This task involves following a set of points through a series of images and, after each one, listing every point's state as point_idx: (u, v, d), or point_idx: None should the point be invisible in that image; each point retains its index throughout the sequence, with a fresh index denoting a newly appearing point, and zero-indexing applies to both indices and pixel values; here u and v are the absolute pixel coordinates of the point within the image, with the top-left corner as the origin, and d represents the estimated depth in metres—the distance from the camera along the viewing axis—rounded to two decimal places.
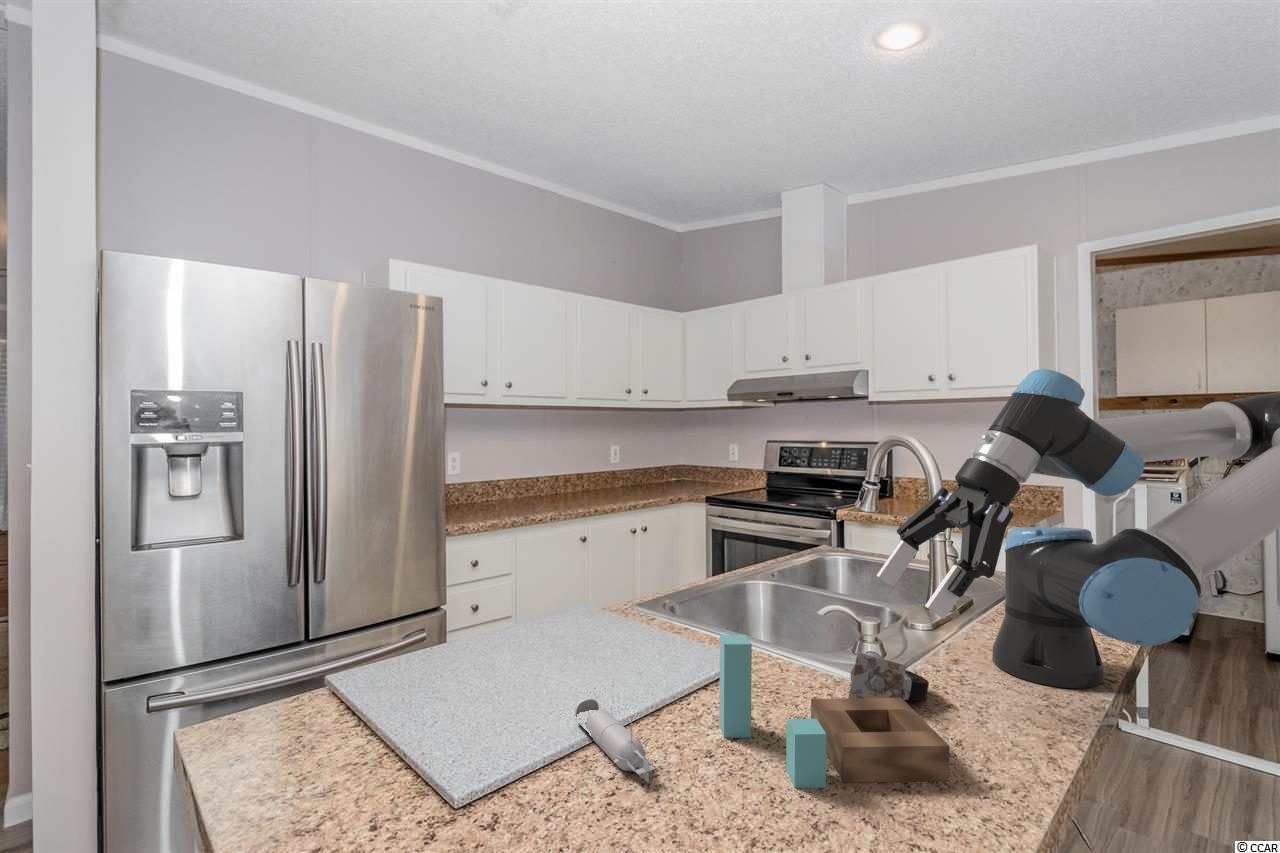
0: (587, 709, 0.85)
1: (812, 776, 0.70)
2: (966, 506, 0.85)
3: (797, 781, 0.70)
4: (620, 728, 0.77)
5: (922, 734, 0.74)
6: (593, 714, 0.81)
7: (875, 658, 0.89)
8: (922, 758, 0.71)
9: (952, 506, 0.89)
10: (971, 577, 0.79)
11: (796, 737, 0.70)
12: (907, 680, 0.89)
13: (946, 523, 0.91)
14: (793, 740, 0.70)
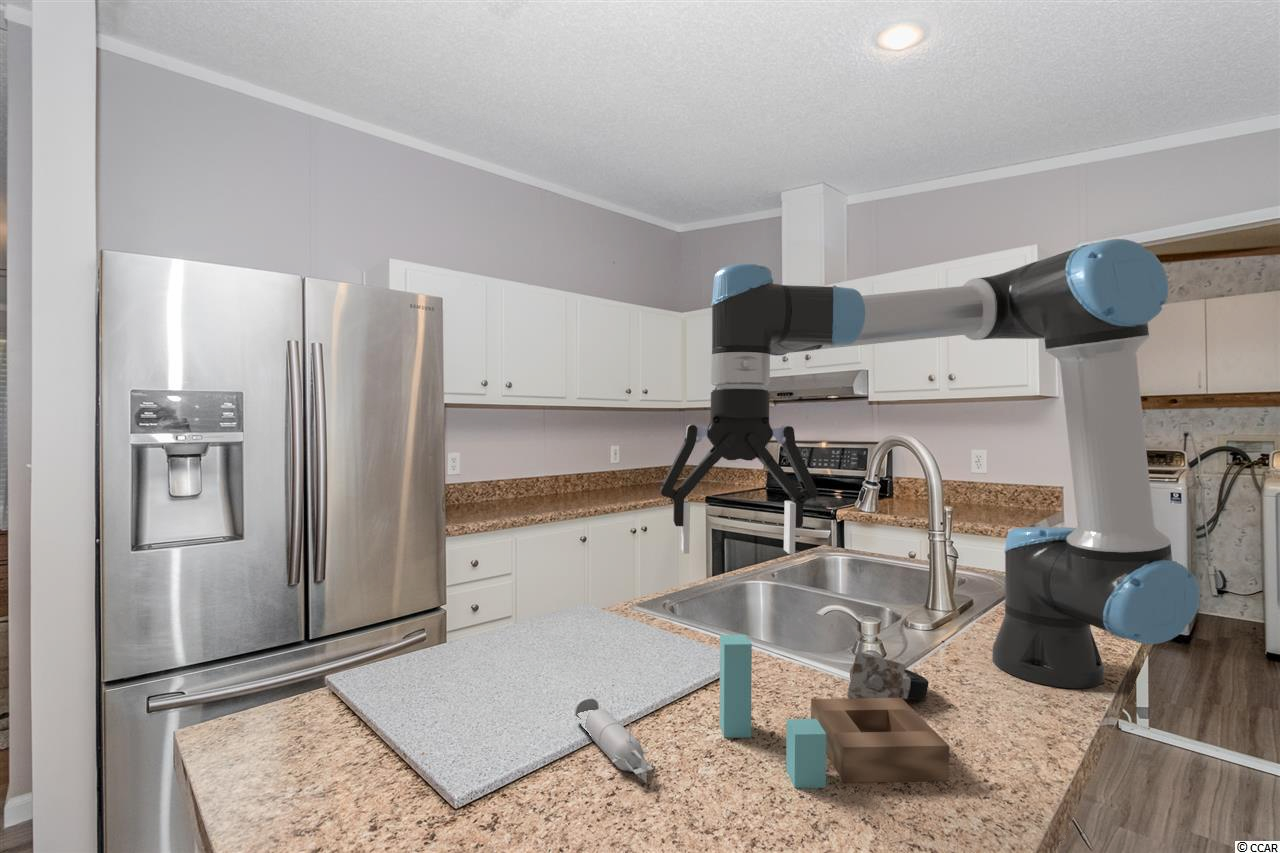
0: (587, 708, 0.85)
1: (812, 776, 0.70)
2: (759, 442, 0.80)
3: (797, 781, 0.70)
4: (618, 727, 0.77)
5: (922, 734, 0.74)
6: (592, 713, 0.81)
7: (874, 657, 0.89)
8: (922, 758, 0.71)
9: (731, 444, 0.80)
10: None
11: (796, 737, 0.70)
12: (906, 679, 0.89)
13: None
14: (793, 740, 0.70)
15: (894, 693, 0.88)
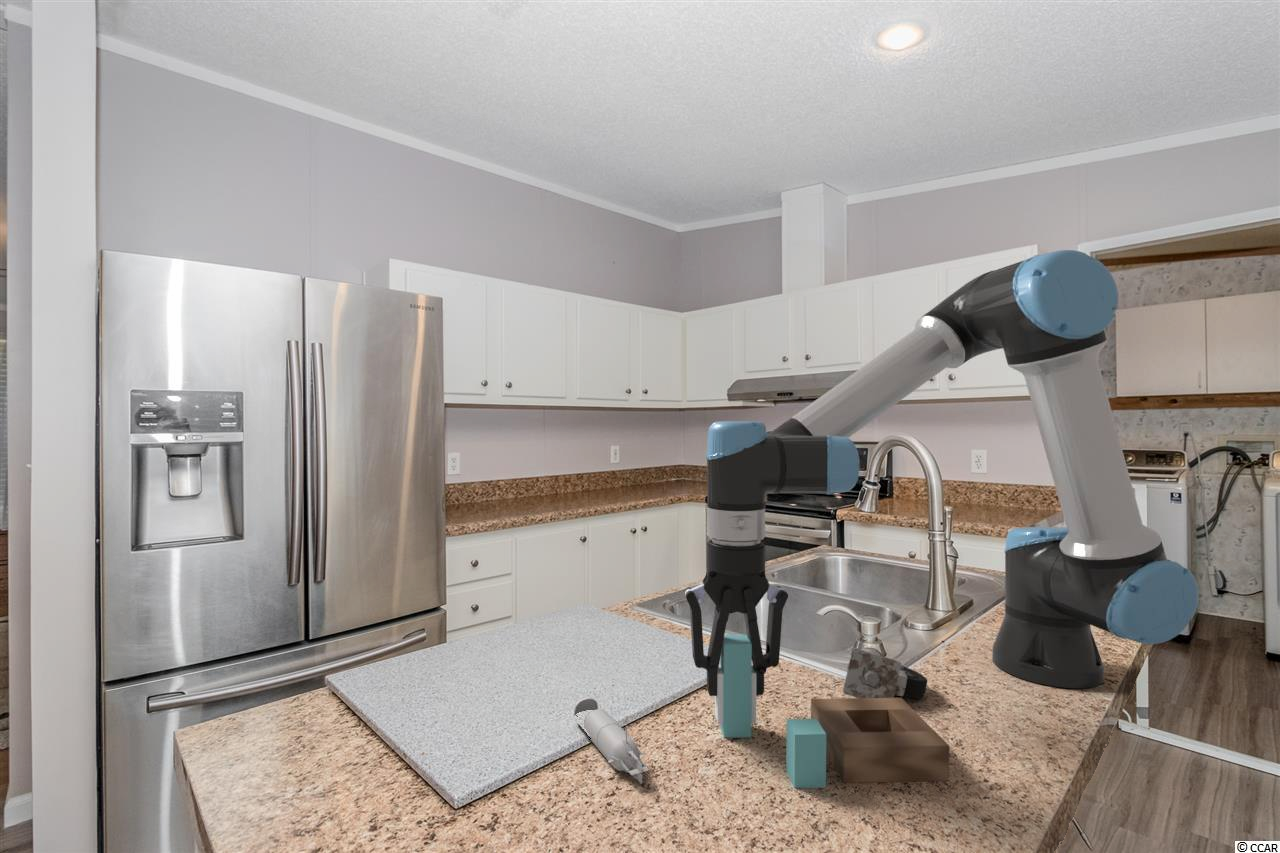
0: (586, 708, 0.85)
1: (812, 776, 0.70)
2: (753, 599, 0.80)
3: (797, 781, 0.70)
4: (616, 728, 0.77)
5: (922, 734, 0.74)
6: (590, 713, 0.81)
7: (870, 654, 0.91)
8: (922, 758, 0.71)
9: None
10: None
11: (796, 737, 0.70)
12: (902, 677, 0.90)
13: None
14: (793, 740, 0.70)
15: (889, 690, 0.89)
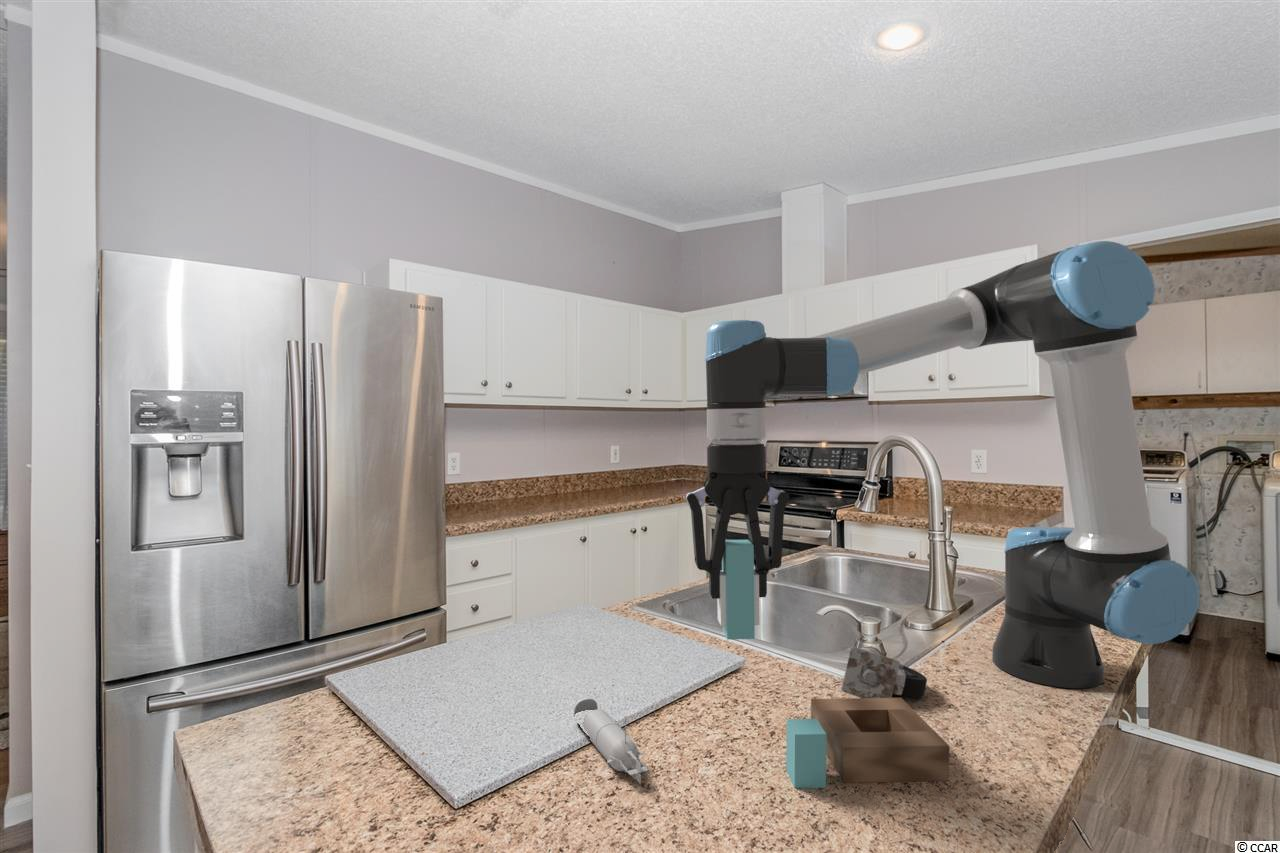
0: (586, 709, 0.85)
1: (812, 776, 0.70)
2: (754, 500, 0.80)
3: (797, 781, 0.70)
4: (615, 728, 0.77)
5: (922, 734, 0.74)
6: (590, 713, 0.81)
7: (868, 652, 0.91)
8: (922, 758, 0.71)
9: (732, 499, 0.80)
10: None
11: (796, 737, 0.70)
12: (901, 676, 0.90)
13: None
14: (793, 740, 0.70)
15: (888, 689, 0.90)
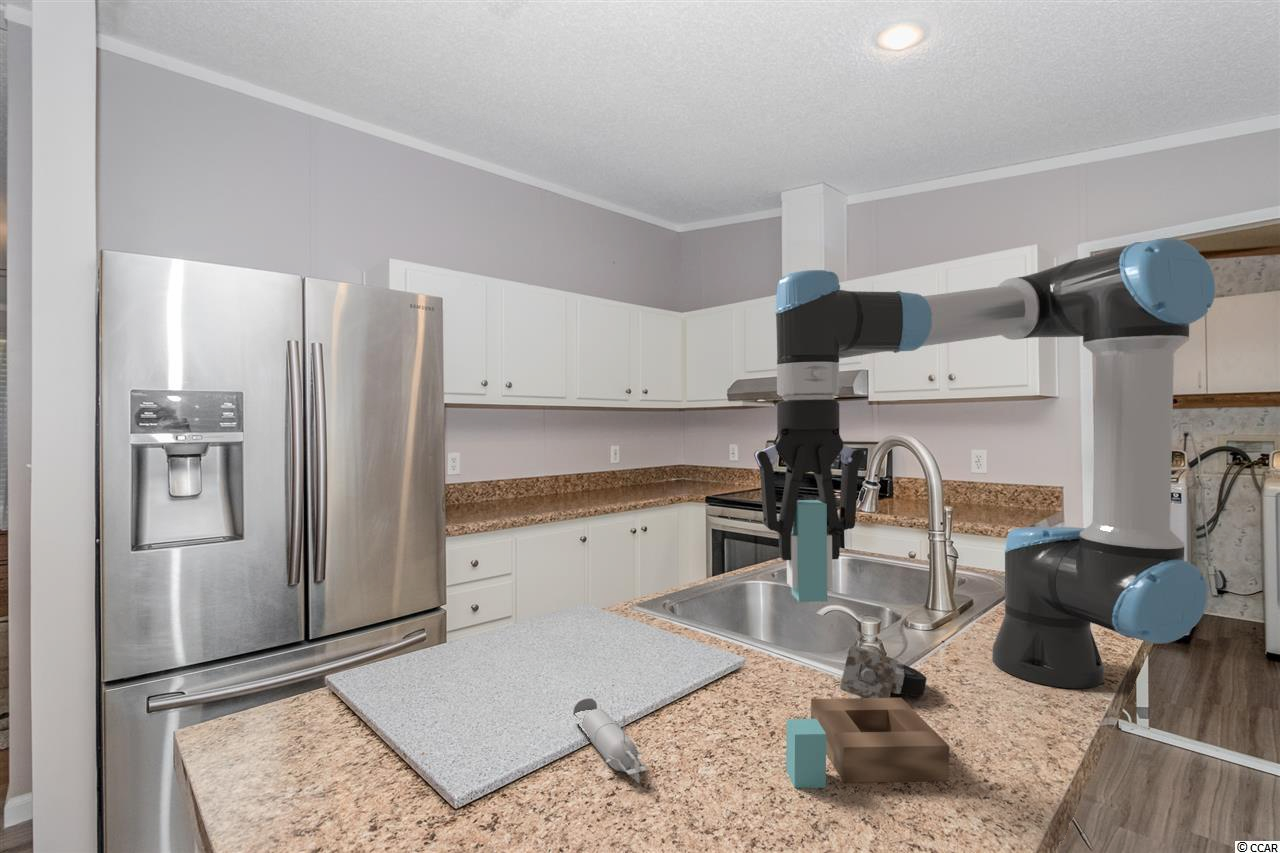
0: (585, 708, 0.85)
1: (812, 776, 0.70)
2: (827, 457, 0.77)
3: (797, 781, 0.70)
4: (614, 728, 0.77)
5: (922, 734, 0.74)
6: (589, 713, 0.81)
7: (867, 651, 0.92)
8: (922, 758, 0.71)
9: None
10: None
11: (796, 737, 0.70)
12: (899, 674, 0.90)
13: None
14: (793, 740, 0.70)
15: (886, 687, 0.90)
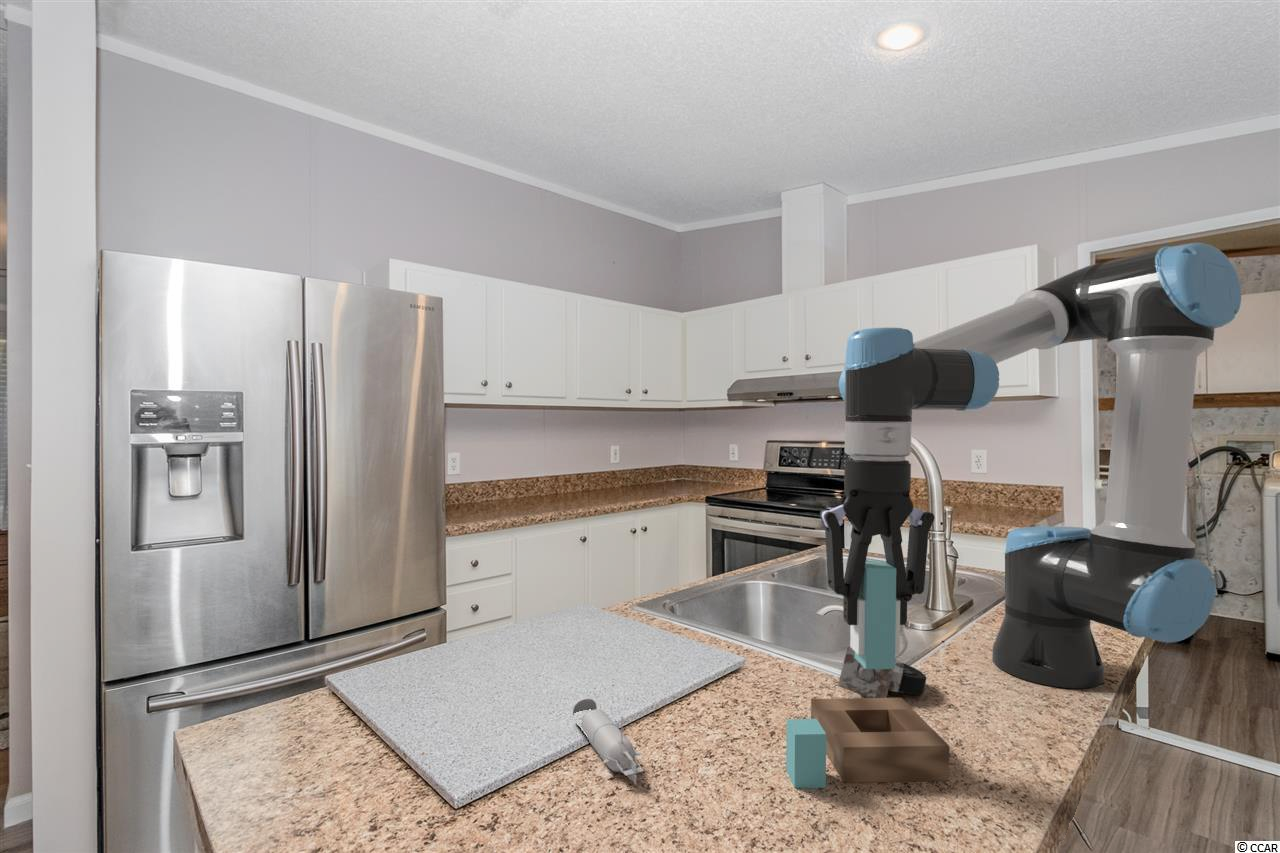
0: (585, 709, 0.85)
1: (812, 776, 0.70)
2: (898, 520, 0.75)
3: (797, 781, 0.70)
4: (612, 728, 0.77)
5: (922, 734, 0.74)
6: (588, 713, 0.81)
7: None
8: (922, 758, 0.71)
9: None
10: None
11: (796, 737, 0.70)
12: (897, 673, 0.91)
13: None
14: (793, 740, 0.70)
15: (884, 685, 0.91)
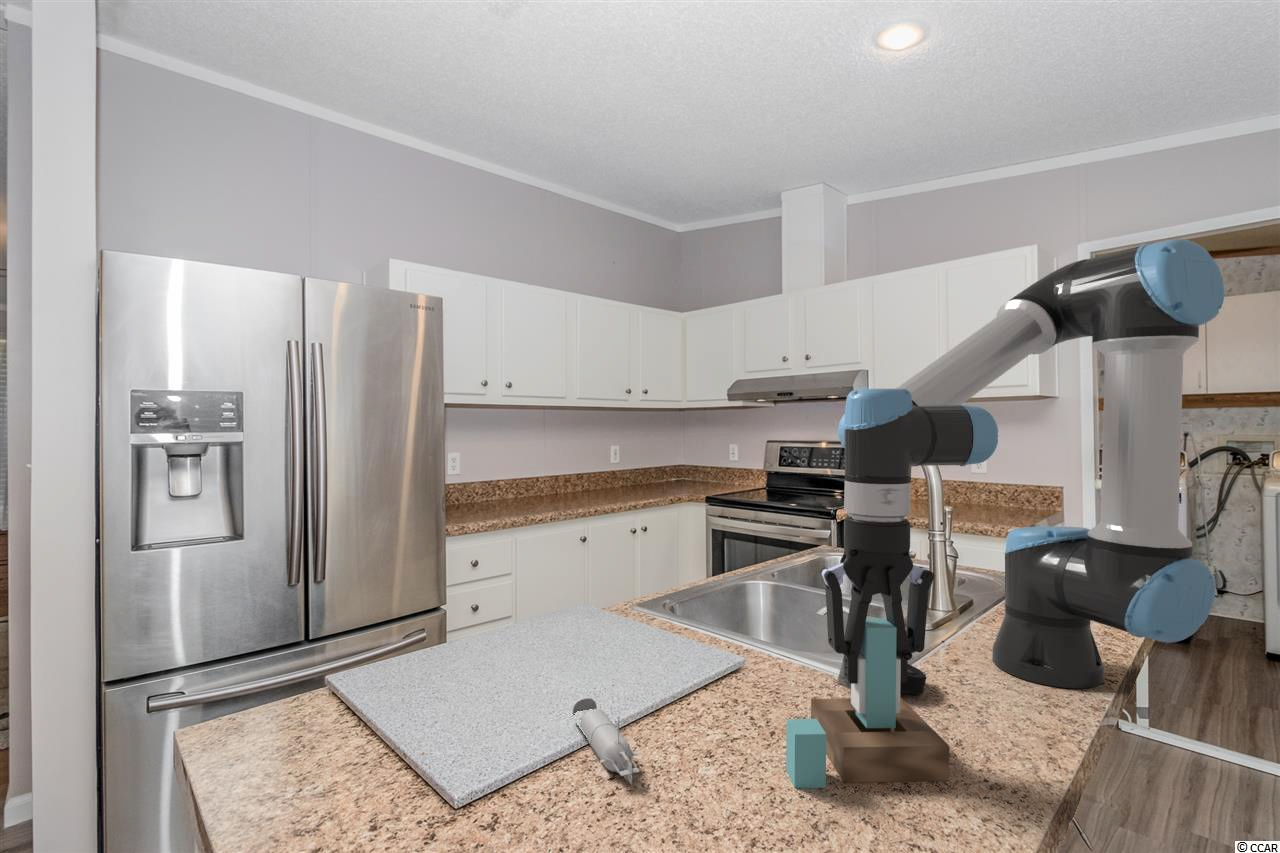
0: (585, 708, 0.85)
1: (812, 776, 0.70)
2: (898, 580, 0.75)
3: (797, 781, 0.70)
4: (610, 728, 0.76)
5: (922, 734, 0.74)
6: (587, 713, 0.81)
7: None
8: (922, 758, 0.71)
9: None
10: None
11: (796, 737, 0.70)
12: None
13: None
14: (793, 740, 0.70)
15: None
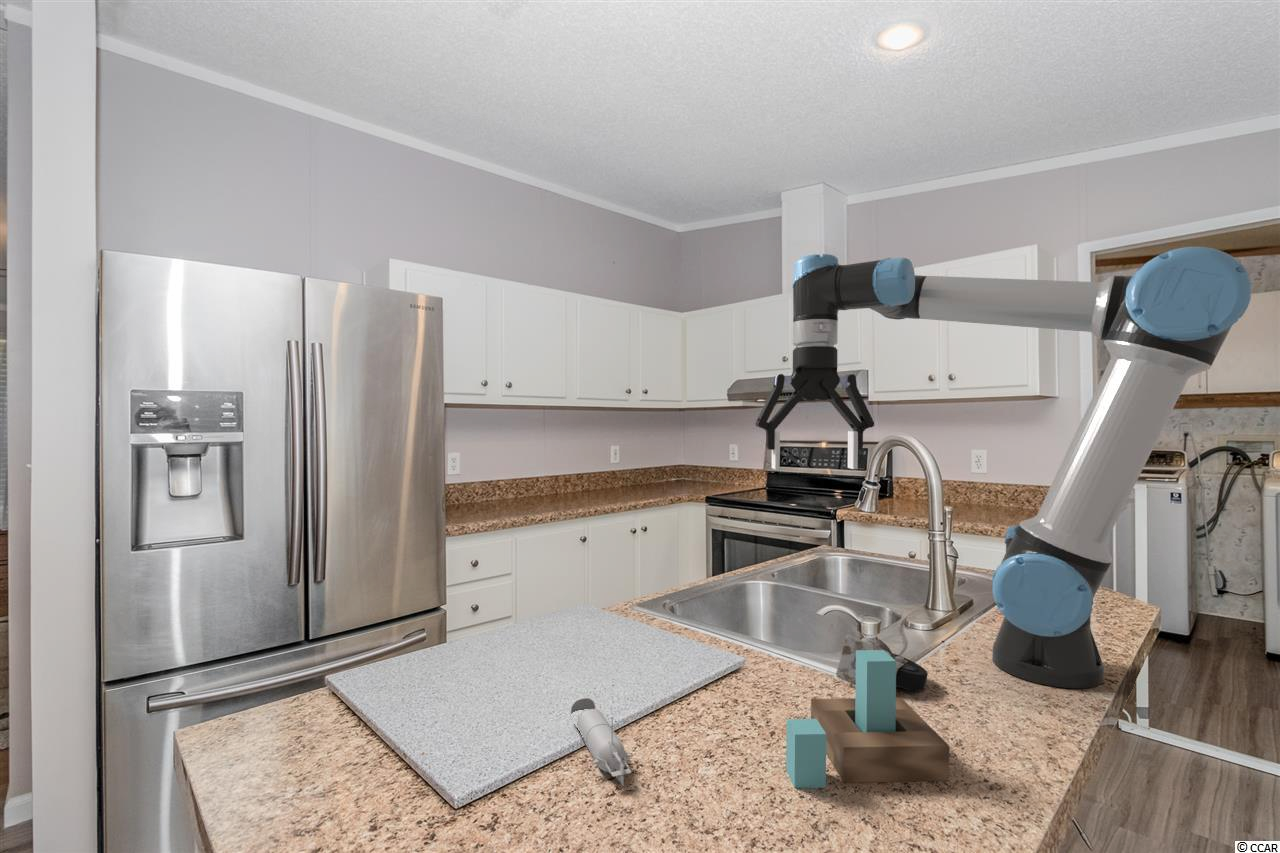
0: (584, 708, 0.85)
1: (812, 776, 0.70)
2: (831, 385, 1.08)
3: (797, 781, 0.70)
4: (605, 729, 0.76)
5: (922, 734, 0.74)
6: (584, 713, 0.81)
7: (862, 642, 0.95)
8: (922, 758, 0.71)
9: (810, 388, 1.09)
10: None
11: (796, 737, 0.70)
12: None
13: None
14: (793, 740, 0.70)
15: None
